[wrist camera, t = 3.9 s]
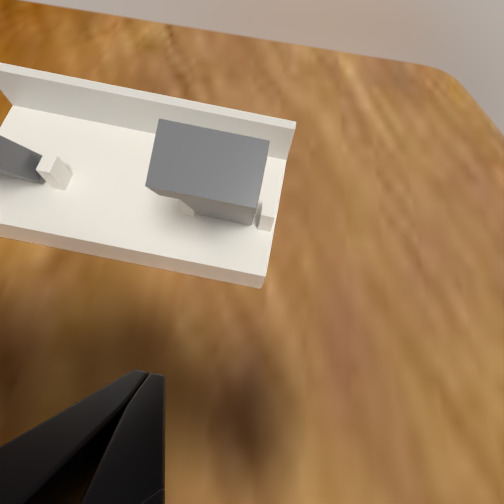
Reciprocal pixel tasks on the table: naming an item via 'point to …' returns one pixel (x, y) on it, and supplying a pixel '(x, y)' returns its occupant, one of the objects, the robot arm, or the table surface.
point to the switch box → (127, 178)
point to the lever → (18, 161)
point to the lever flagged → (208, 170)
